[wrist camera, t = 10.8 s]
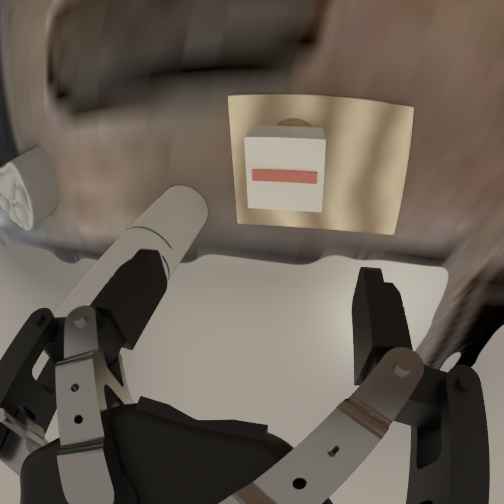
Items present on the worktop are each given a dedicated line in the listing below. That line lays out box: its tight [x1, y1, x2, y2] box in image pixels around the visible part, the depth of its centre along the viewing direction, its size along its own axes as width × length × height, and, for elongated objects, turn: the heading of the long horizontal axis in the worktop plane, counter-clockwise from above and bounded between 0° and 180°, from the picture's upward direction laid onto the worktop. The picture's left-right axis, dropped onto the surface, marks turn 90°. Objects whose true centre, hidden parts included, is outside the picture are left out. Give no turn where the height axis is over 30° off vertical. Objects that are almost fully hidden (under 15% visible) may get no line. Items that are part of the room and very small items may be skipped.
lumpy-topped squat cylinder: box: [0, 146, 59, 230], centre depth 38 cm, size 10×13×9 cm
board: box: [228, 94, 414, 235], centre depth 31 cm, size 20×16×2 cm
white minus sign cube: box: [244, 126, 326, 213], centre depth 22 cm, size 6×6×5 cm
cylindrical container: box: [54, 185, 208, 360], centre depth 29 cm, size 7×7×25 cm
